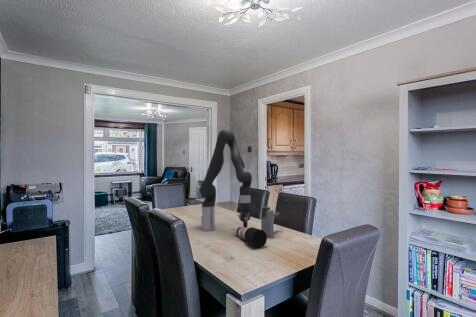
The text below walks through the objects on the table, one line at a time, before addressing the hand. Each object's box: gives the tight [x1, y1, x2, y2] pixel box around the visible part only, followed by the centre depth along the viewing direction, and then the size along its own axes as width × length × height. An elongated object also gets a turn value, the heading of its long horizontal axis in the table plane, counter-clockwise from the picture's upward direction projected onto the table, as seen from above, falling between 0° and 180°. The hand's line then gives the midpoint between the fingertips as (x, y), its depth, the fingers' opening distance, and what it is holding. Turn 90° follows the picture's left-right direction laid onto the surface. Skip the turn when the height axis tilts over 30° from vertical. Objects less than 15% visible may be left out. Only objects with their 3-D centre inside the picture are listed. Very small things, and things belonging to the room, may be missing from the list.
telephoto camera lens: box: [233, 226, 268, 248], centre depth 167 cm, size 10×34×10 cm, turn 24°
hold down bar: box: [261, 206, 281, 220], centre depth 179 cm, size 4×17×8 cm, turn 140°
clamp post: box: [260, 209, 275, 239], centre depth 173 cm, size 7×4×18 cm, turn 51°
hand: (245, 227), depth 174 cm, fingers closed
